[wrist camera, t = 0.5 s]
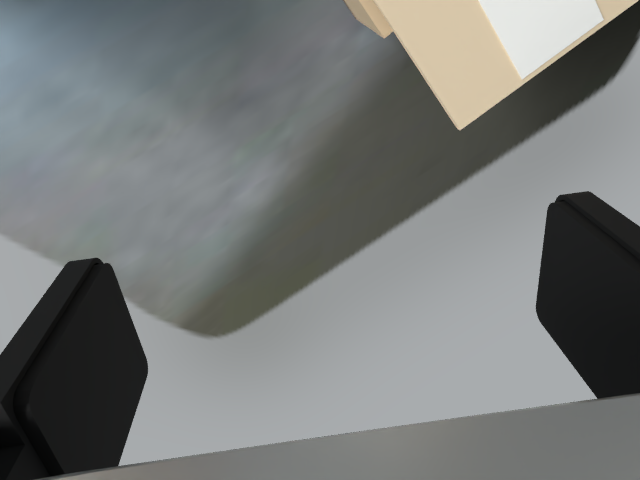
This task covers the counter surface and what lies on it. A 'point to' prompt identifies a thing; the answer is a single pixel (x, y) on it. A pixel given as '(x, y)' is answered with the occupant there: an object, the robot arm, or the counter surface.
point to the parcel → (369, 16)
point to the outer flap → (490, 43)
